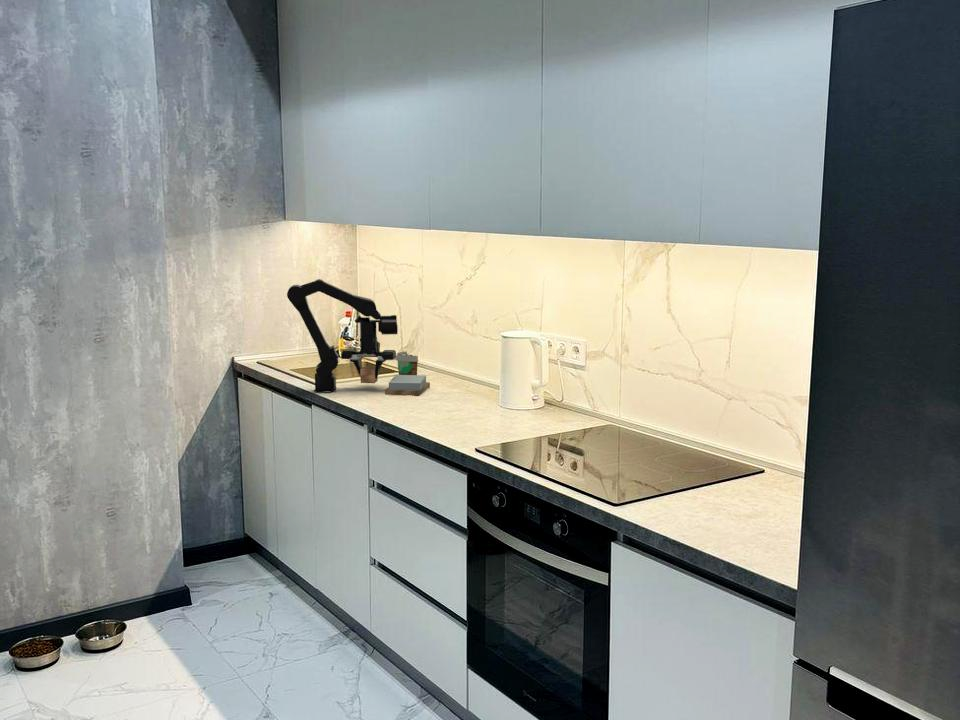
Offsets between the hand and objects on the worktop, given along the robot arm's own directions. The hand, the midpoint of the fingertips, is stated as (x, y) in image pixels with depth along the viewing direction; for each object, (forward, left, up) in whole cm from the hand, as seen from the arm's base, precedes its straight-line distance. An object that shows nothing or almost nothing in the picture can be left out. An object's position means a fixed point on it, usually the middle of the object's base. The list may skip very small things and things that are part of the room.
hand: (369, 378), depth 348 cm
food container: (+9, +19, -4) cm, 21 cm away
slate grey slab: (+14, 0, -2) cm, 14 cm away
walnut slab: (+14, 0, -5) cm, 15 cm away
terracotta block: (0, 0, -1) cm, 1 cm away
